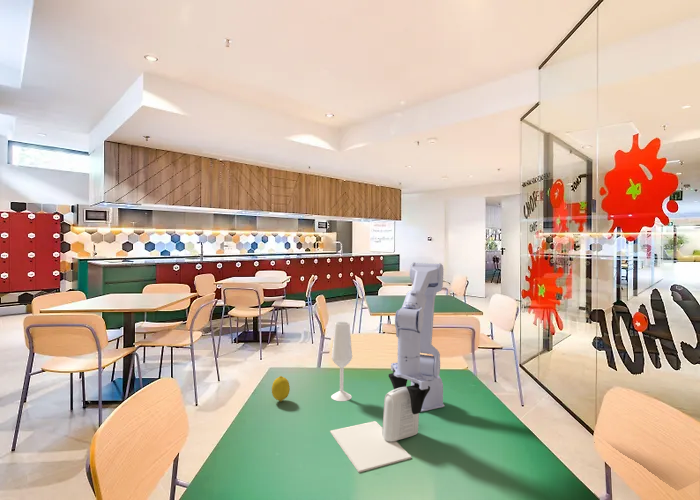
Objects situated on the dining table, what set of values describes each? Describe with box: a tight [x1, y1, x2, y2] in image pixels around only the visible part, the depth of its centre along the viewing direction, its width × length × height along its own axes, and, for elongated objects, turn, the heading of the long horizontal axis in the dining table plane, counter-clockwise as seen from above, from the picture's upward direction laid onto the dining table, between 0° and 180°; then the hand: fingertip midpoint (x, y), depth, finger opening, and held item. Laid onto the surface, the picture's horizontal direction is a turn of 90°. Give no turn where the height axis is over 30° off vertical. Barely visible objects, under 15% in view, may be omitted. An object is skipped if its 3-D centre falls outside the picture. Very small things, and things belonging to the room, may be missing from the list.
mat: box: [329, 420, 412, 473], centre depth 88 cm, size 14×18×1 cm
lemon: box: [271, 375, 291, 402], centre depth 112 cm, size 6×6×8 cm
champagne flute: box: [330, 321, 353, 402], centre depth 116 cm, size 7×7×24 cm
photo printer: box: [382, 386, 420, 442], centre depth 92 cm, size 10×4×12 cm, turn 124°
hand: (408, 406), depth 93 cm, fingers open, 7 cm apart
